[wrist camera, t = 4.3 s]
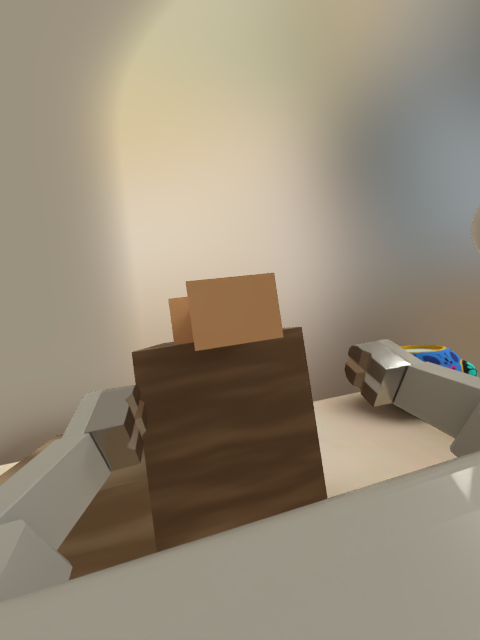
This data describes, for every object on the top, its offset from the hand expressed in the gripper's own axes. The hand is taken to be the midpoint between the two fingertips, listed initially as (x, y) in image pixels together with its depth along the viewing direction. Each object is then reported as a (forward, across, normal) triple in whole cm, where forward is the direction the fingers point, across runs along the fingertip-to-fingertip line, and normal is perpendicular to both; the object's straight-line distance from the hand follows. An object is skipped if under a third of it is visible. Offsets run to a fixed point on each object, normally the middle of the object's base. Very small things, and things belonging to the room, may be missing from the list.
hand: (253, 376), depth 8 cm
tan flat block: (+10, 0, +5) cm, 11 cm away
